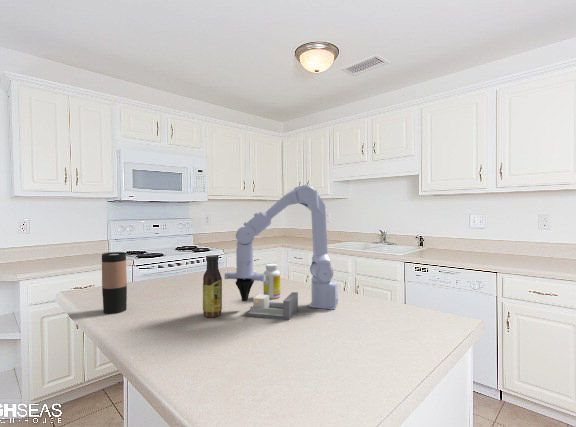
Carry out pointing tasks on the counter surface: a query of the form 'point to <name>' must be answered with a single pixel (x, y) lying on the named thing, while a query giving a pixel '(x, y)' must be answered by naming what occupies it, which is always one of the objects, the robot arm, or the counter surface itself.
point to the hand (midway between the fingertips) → (245, 300)
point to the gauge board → (277, 309)
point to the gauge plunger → (261, 301)
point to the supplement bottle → (272, 281)
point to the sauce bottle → (212, 288)
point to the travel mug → (114, 282)
